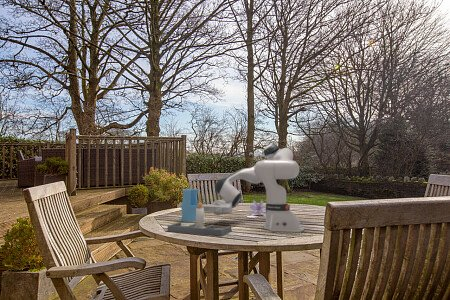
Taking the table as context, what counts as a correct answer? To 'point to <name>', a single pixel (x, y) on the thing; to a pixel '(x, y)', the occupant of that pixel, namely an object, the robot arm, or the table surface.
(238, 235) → the table surface
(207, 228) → the cable organizer
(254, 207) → the water lily
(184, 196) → the vase
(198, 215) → the orange capped bottle
